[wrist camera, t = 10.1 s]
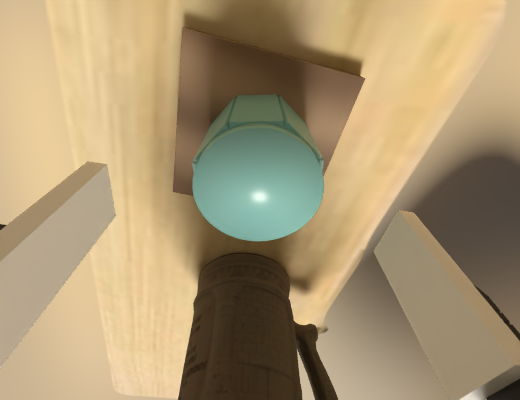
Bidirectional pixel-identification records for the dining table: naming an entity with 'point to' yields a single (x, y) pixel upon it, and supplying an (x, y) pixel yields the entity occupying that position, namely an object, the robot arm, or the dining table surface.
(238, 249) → the dining table surface
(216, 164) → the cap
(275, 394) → the beer stein
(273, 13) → the dining table surface
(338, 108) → the post block
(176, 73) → the dining table surface
